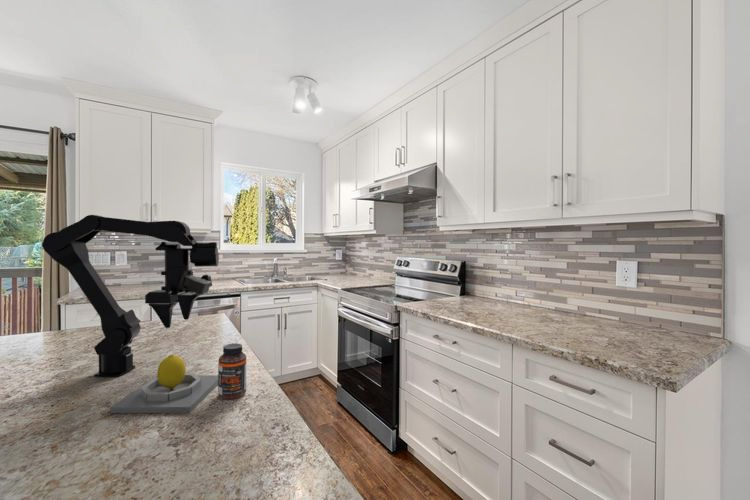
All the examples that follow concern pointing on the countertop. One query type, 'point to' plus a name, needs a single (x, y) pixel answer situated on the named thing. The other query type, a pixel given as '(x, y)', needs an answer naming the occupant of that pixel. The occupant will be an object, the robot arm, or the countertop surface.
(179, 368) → the lemon
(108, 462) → the countertop surface
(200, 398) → the ring plate
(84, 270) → the robot arm
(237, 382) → the supplement bottle
